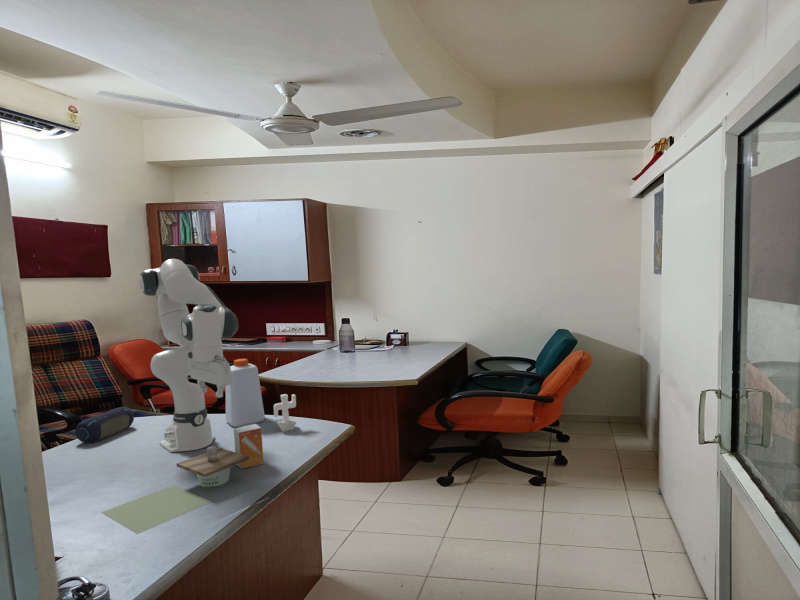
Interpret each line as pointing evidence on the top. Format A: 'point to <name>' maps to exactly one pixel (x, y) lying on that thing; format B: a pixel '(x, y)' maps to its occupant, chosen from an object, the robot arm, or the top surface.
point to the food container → (214, 478)
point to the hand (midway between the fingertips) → (211, 394)
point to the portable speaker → (104, 424)
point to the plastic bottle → (244, 395)
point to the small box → (249, 444)
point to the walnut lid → (212, 461)
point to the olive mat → (155, 508)
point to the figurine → (285, 413)
